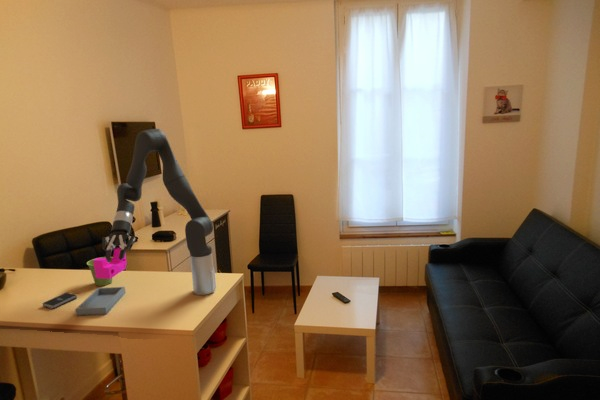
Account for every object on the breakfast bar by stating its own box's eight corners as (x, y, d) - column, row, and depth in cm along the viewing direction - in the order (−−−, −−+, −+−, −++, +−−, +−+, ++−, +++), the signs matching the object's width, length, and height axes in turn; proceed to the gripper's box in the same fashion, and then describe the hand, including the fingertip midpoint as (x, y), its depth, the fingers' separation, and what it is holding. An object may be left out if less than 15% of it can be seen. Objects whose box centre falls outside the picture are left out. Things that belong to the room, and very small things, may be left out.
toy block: (110, 278, 155) (107, 261, 154) (95, 278, 156) (93, 260, 155) (132, 264, 170) (130, 248, 168) (119, 263, 171) (116, 247, 169)
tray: (125, 292, 174) (124, 286, 174) (106, 314, 155) (105, 307, 155) (98, 294, 174) (98, 288, 173) (76, 316, 155) (75, 309, 154)
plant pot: (123, 281, 188) (120, 258, 186) (99, 290, 178) (95, 267, 176) (108, 276, 194) (105, 254, 192) (84, 285, 185) (81, 262, 182)
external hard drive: (42, 307, 164) (41, 303, 163) (67, 296, 174) (66, 292, 173) (53, 310, 161) (52, 306, 161) (78, 299, 171) (77, 294, 171)
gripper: (102, 219, 170) (93, 256, 161) (135, 218, 170) (128, 254, 161) (109, 228, 176) (100, 263, 167) (141, 227, 177) (134, 262, 168)
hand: (114, 259), depth 164 cm, fingers closed on toy block, 4 cm apart
